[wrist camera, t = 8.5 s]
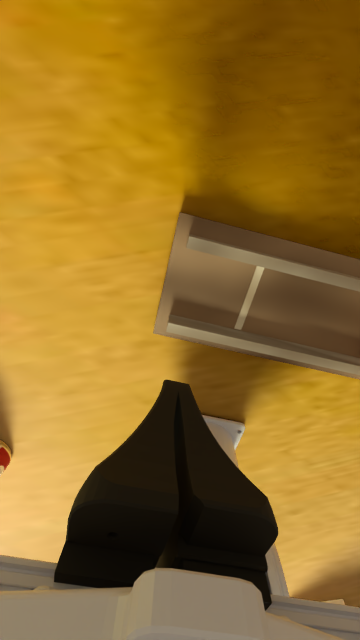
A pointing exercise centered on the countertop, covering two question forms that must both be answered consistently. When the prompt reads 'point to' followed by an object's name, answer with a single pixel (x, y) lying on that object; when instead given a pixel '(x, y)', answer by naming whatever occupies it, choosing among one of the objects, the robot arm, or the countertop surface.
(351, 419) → the countertop surface
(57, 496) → the countertop surface
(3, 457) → the soda can
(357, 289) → the fader board
